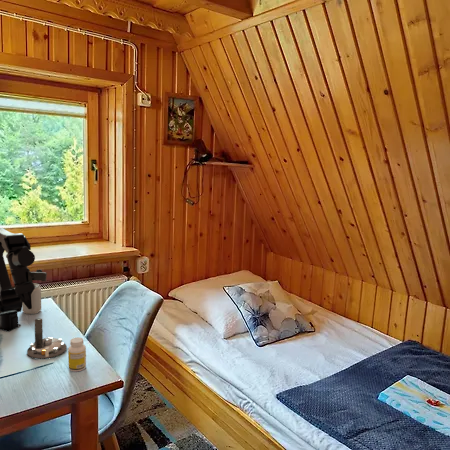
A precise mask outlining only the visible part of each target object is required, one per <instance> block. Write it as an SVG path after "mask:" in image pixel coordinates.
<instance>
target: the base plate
mask: <svg viewBox="0 0 450 450" xmlns="http://www.w3.org/2000/svg"><path fill="white" fill-rule="evenodd" d="M62 343H64V347H63V348H61V349H60V350H58V352H56V353H49V348H45V355H42V354H37V353H32V349H30V346H29V348H28V349H27V350H26V351H27V356H28V357H29V358H32V359H33V360H49V358H50V359H53V358H57V357H60V356H62V355H63V354H65V353H66V352H67V351H68V348H67V344H66V343H65V342H63V341H62Z"/></svg>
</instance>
